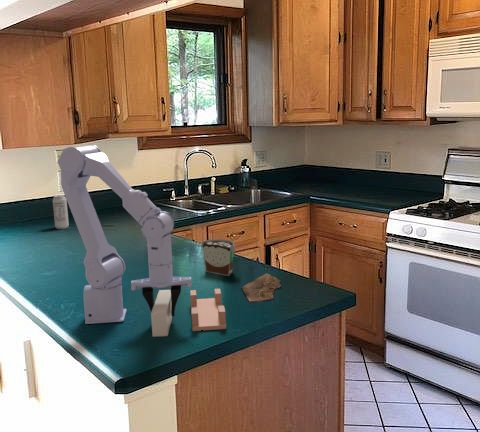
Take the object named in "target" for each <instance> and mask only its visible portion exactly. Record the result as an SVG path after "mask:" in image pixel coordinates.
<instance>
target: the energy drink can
mask: <svg viewBox="0 0 480 432" xmlns="http://www.w3.org/2000/svg"><path fill="white" fill-rule="evenodd" d="M52 208H53V209H52V210H53V216H54V217H53V219H54V226H55V228H56V229H57V230H65V229H67V228H69V226H70V225H69V213H68V212H69V211H68V202H67V199H66V197H65V194H58V195H53V198H52Z"/></svg>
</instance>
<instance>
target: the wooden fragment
mask: <svg viewBox="0 0 480 432" xmlns="http://www.w3.org/2000/svg"><path fill="white" fill-rule="evenodd" d="M281 283H282V281H281V280H280V279H278V278H277V277H276V276H272V274H269V273H264V274H263V275H260V276H258V277H257V278H255V279H252V280H250V281H249V282H247V283H246V284H245V285H243V286H242V287H241V290H242V292H243V294H245V296H246V299H247V300H248V303H249V304H250V303H261V302H265V301H267V302H268V301H270V300H274V299H275V298H274V297H275V296H274V293H275V292H276V291H275V290H278V289H279V288H281V286H282V284H281Z"/></svg>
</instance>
